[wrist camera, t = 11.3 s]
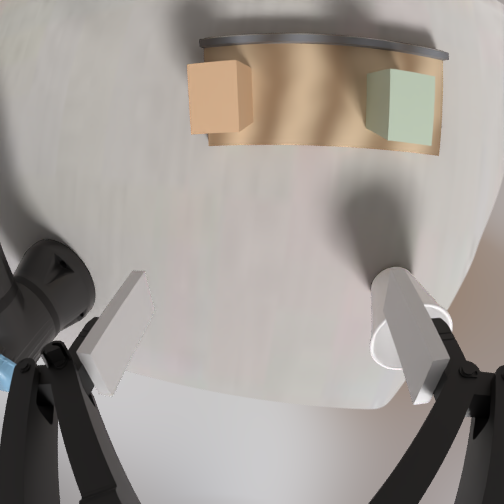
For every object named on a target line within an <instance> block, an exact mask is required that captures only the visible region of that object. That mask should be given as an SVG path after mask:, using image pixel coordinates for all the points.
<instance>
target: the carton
mask: <svg viewBox="0 0 504 504" xmlns="http://www.w3.org/2000/svg"><path fill="white" fill-rule="evenodd" d="M434 102H435V76H430V75H425V74H420V73H415V72H409V71H403V70H397V69H386V70H381V71H377V72H372V73H368V74H367V101H366V128H367V129H368V130H370V131H372V132H374V133H376V134H377V135H379V136H381V137H383V138H384V139H386V140H389V141H398V142H406V143H414V144H421V145H428V146H431V145H432V134H433V121H434Z"/></svg>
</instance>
